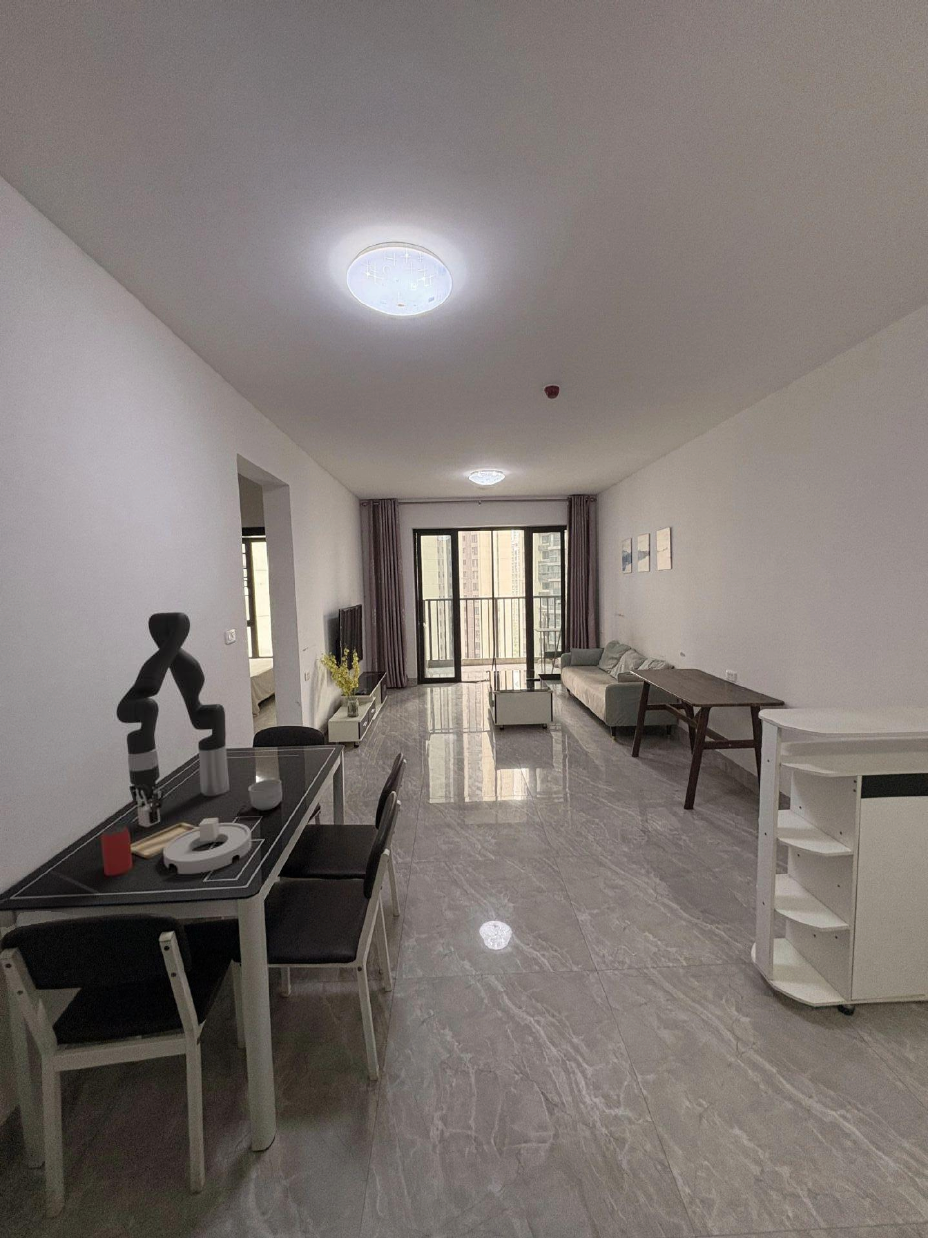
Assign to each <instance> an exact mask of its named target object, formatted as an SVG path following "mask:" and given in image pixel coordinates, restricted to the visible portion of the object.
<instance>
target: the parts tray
mask: <svg viewBox="0 0 928 1238" xmlns="http://www.w3.org/2000/svg"><path fill="white" fill-rule="evenodd" d="M196 828H199V826H196V825H192V824H189V823H186V822H182V821H181V822H178V823H176V824H174V825H171V826H170V827H167V828H166V829H163V830H160V831H158V832H155V833H153V834H152V835H149V836H147V837H145V838H142V839H140V840H137V841H135V842H133V843H130V844H131V854H135V855H137V856H140V857H142V858H145V859H150V858H153V857H155V856H158V855H159V854H161V853H163V851H164V848H165V846H166V845H167V844H168V843H169V842H170V841H171V840H173V839H174V838H175V837H177V836H179V835H181V834H183V833H185V832H188V831H190V830H192V829H196Z"/></svg>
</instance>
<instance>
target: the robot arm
mask: <svg viewBox="0 0 928 1238" xmlns="http://www.w3.org/2000/svg"><path fill="white" fill-rule="evenodd" d="M190 629H191V622H190V619H189V616H188V615H187V613H184V612H181V611H180V612H179V611H177V612H175V611H174V612H158V613H154V614H151V615H150V616H149V618H148V631H149V634H150V637H151V638H152V640H153V642H154V643H155V645H156V647H157V648H158V650H157V651H156V652H154V654H152V655H150V657H149V658H148V659H147V660H145V662H144V663H143V665H142V666H141V668H140V669H139V671H138V674H137V677H136V679H135V681H134V684H132V686H131V687H130V689H128V691H127V692H125V695H124V696H123V697H122V698H121V700H119V703H118V705H117V707H116V717H117V720H118V721H120V723H122V724H123V723H124V724H138V723H139V724H140V725H141V726H140V728H139V729H134V730H132V731H130V732H128V733H127V735H126V745H127V752H128V753H127V763H128V773H129V781H130V784H131V785H130V786H129V791H130V794H131V798H132V802H133V804H134V806H137V808H140V807H142V806H145V805H147V807H148V811H149V820H150V823H151V824H153V823H155V822H157V821H158V812H157V810H158V809H159V810H160V809H162V808H163V803H164V793H165V792H164V790H163V789H161V790H159V789H158V785H157V783H156V782H157V780H159V779H160V776H161V775H160V767H159V758H158V757H159V755H158V751H157V747H156V739H155V738H156V737H155V734H156V733H155V731H156V729H157V727H156V726H157V721H158V716H159V710H160V708H159V704H158V702H157V701H156V700H155V699H154V698H152V697H154V696H155V697H156V696H157V695H158V694H159V692H160V691H161V688H162V685H163V682H164V680H165V677H166V675H167V672H168V670H169V671H170V673H171V676H172V678H173V680H174V682H175V684H176V687H177V688H178V690H179V693H180V695H181V697H182V699H183V702H184V705H185V708H186V710H187V711H186V712H187V714H188V717H189V721H190V723H191V725H192V727H193V728H194V729H195V730H199V731H205V730H211V734H210V735H209V736H207V737H204V738H202V739H199V741H198V743H197V744H198V757H199V768H198V771H199V783H200V793H202V796H206V797H212V796H213V797H214V796H219V795H222V794H225V793H227V792H228V791H229V790H230V783H229V781H230V780H229V770H228V769H229V768H228V756H227V755H228V754H227V746H226V740H227V739H226V738H227V733H226V713H225V711H226V710H225V708H224V706H223V705H222V704H220V703H216V704H215V703H211V704H202V703H201V701H200V698H199V697H200V694H201V692H202V690H203V688H204V684H205V680H206V677H205V674H204V672H203V669H202V666H201V664H200V663H199V661H198V659H196V658H195V657H194V656H192V654H190V653H189V652H187V651H186V650H185V649H183V648H182V647H183V645H184V643H185V641H187V638H188V636H189V632H190ZM151 803H152V807H151ZM153 825H154V824H153Z"/></svg>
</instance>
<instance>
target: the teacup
mask: <svg viewBox="0 0 928 1238" xmlns="http://www.w3.org/2000/svg"><path fill="white" fill-rule="evenodd" d="M247 789H248V794H249V799H250V803H251V804H250V805H252V807H253V808H255V809H257V810H258V811H269V810H272V809H273V808H275V807H277V806H278V805H279V803H281V801H282V799H283V789H282V780H280V779H278V778H277V779H276V777H270V779H264V780H260V781H258V782H255V783H252V784H251V785H249V787H248V788H247Z"/></svg>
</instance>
